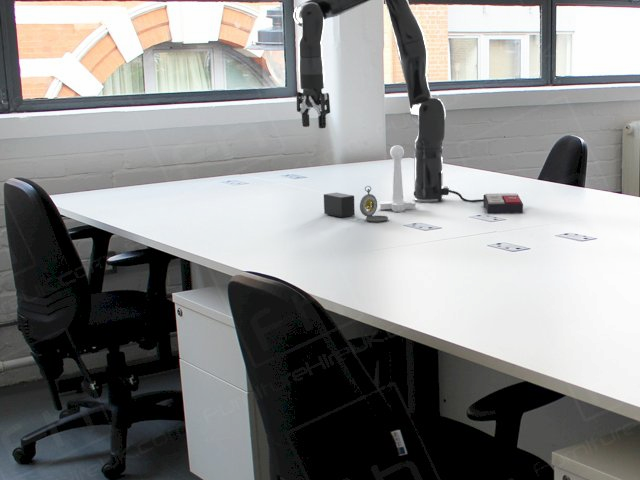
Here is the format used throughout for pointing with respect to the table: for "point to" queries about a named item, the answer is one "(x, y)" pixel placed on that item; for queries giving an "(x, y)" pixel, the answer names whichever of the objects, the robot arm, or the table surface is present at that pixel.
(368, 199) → the pocket watch
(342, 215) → the dark grey rectangular block
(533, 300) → the table surface
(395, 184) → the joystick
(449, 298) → the table surface
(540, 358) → the table surface
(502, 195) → the control box
